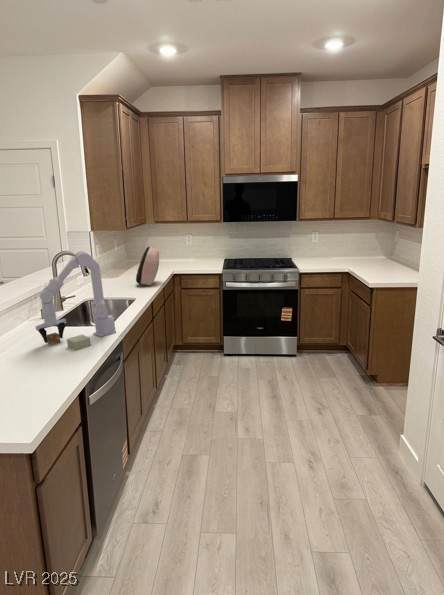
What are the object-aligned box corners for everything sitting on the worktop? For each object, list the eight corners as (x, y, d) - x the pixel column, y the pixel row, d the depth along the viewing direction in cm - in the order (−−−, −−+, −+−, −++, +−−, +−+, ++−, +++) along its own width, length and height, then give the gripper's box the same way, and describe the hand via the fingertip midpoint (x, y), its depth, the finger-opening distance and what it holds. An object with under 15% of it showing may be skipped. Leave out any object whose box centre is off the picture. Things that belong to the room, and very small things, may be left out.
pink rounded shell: (138, 282, 337) (134, 245, 329) (162, 280, 339) (158, 244, 331) (135, 288, 316) (131, 249, 308) (161, 286, 318) (157, 247, 310)
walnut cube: (56, 340, 209) (55, 332, 208) (60, 342, 206) (59, 334, 205) (47, 343, 206) (46, 334, 205) (51, 345, 203) (50, 336, 202)
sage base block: (83, 341, 205) (82, 334, 204) (91, 345, 200) (89, 337, 199) (67, 346, 200) (66, 338, 199) (75, 350, 194) (74, 342, 193)
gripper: (60, 309, 210) (64, 334, 213) (31, 316, 200) (35, 342, 203) (66, 311, 205) (70, 337, 208) (37, 319, 195) (41, 345, 199)
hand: (53, 340), depth 206 cm, fingers open, 7 cm apart
